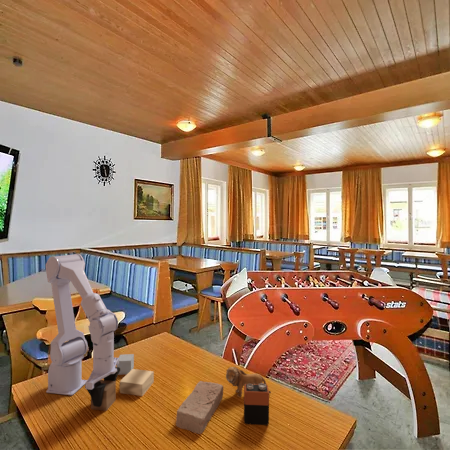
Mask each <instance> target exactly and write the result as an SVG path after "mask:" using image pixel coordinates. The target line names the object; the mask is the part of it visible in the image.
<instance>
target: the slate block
mask: <svg viewBox="0 0 450 450" xmlns="http://www.w3.org/2000/svg"><path fill="white" fill-rule="evenodd" d="M118 358H119V364H118V365H116V367H119V368H120V372H119V374H118V375H119V376H120V375H121V376H122V375H127V374H128V373H129V372H130V371H131V370H132V369H135V368H134V367H135V365H134V364H135V354H134V353H130V354H129V353H128V354H126V353H124V354H119V356H118Z"/></svg>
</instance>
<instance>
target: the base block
mask: <svg viewBox="0 0 450 450" xmlns="http://www.w3.org/2000/svg"><path fill="white" fill-rule="evenodd" d="M154 375H155V373H154V371H151V370H144V369H135V368H133V369H132V370H131V371H130V372H129V373H128V374H125V376H124V377H122V379H120V380H119V393H120V394H125V395H130V396H131V395H132V396H138V397H139V396H140V397H143V396H144V395H145V394H146V392H148V390H149V389H150V387H151V386H152V385H153V384H154V381H155V380H154V379H155V378H154V377H155V376H154Z"/></svg>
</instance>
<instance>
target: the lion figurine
mask: <svg viewBox="0 0 450 450" xmlns="http://www.w3.org/2000/svg"><path fill="white" fill-rule="evenodd" d="M225 378H226V381H228V383H229V384H231V385H232V387H236V388H237V389H235V392H236V393H237V397H238V398H241V397H242V395H243V389H244V385H245V384H260V383H263V384H266V385H267V382H266V379H265V378H264V376H262V375H261V374H260V373H245V372H244V370H242V369H240V368H238V367H236V366H229V367H228V368H227V369H226V373H225ZM271 393H272V392H271V390H269V394H271Z"/></svg>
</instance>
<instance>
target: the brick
mask: <svg viewBox="0 0 450 450" xmlns="http://www.w3.org/2000/svg"><path fill="white" fill-rule="evenodd" d="M223 396H224V385H222V384H220V383H218V382H217V383H216V382H211V381H202V380H200V381H198V382H197V384H196V385H195V386H194V388H193V390H192V392H190V393H189V395H188V396H187V397H186V399H185V400H183V402H182V403H181V404H180V406H179V407H178V409H177V410H176V419H175V426H176V427H177V428H180V429H183V430H187V431H190V432H192V433H195V434H199V435H201V434H203V433H204V431H205V429H207V426H208V423H209V422H210V421H211V419H212V417H213V416H214V413H215V412H216V410H217V409H218V407H219V405H220V403H221V401H222V399H223V398H224V397H223Z"/></svg>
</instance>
